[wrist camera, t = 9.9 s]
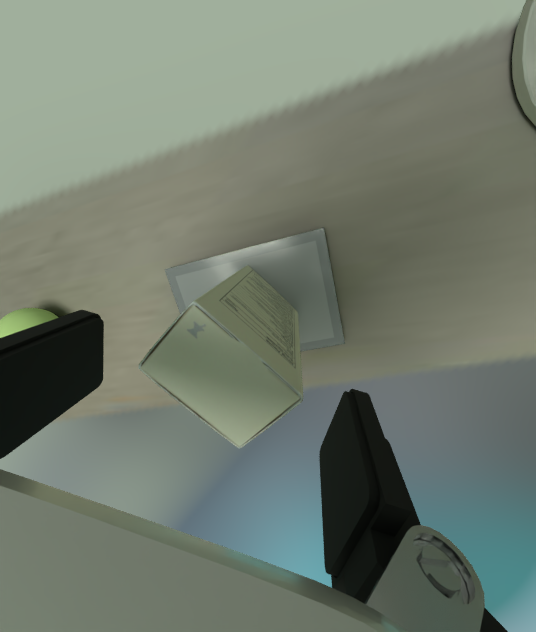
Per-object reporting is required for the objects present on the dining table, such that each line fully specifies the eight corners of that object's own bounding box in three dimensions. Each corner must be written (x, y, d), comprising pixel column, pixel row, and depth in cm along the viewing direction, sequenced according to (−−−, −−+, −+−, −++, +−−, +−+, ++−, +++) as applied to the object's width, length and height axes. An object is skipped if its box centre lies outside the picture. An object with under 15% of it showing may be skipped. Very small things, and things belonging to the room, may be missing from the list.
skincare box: (216, 298, 22) (126, 364, 11) (248, 262, 21) (186, 292, 10) (268, 347, 23) (238, 456, 12) (302, 314, 22) (306, 401, 10)
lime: (78, 309, 26) (28, 325, 21) (78, 352, 27) (31, 376, 22) (32, 296, 26) (-28, 310, 21) (35, 340, 27) (-20, 361, 23)
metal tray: (322, 228, 21) (323, 227, 20) (342, 339, 23) (345, 344, 22) (170, 268, 23) (163, 269, 22) (203, 364, 26) (199, 369, 25)
